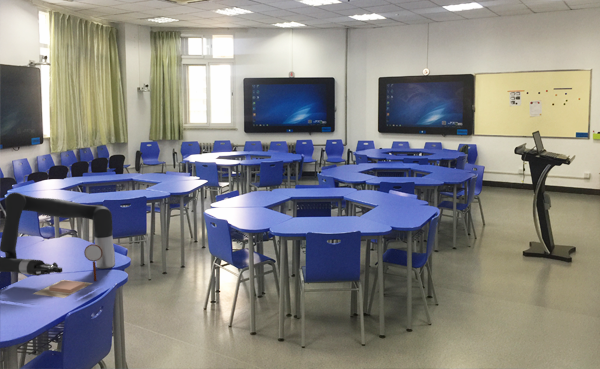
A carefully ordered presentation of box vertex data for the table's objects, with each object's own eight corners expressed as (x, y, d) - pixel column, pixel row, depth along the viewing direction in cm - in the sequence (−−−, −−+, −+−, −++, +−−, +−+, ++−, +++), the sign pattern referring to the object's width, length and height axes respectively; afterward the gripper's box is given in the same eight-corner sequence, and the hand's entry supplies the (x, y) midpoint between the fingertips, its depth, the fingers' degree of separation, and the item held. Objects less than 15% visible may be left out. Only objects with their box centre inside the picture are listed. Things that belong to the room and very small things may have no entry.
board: (63, 281, 264) (62, 279, 263) (93, 285, 259) (93, 283, 258) (32, 295, 245) (32, 293, 244) (64, 299, 240) (64, 297, 239)
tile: (64, 280, 257) (84, 282, 254) (64, 284, 257) (84, 286, 254) (49, 287, 247) (70, 289, 244) (49, 291, 248) (70, 293, 244)
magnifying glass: (86, 283, 260) (83, 245, 257) (87, 282, 262) (84, 244, 259) (103, 283, 261) (101, 244, 258) (104, 282, 263) (102, 243, 260)
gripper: (20, 263, 248) (50, 267, 243) (41, 255, 261) (70, 258, 256) (21, 278, 249) (51, 282, 244) (42, 270, 262) (71, 273, 257)
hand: (61, 270), depth 250 cm, fingers closed
